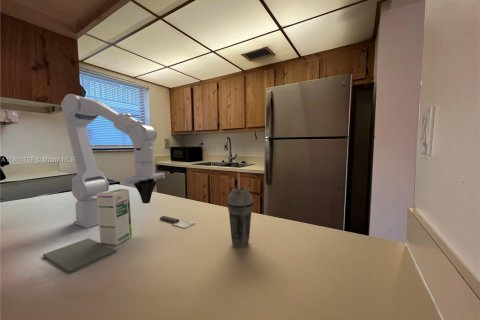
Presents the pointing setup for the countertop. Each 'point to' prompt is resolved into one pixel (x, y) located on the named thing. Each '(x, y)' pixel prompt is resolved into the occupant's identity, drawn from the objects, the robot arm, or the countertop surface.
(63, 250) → the mat
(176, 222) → the spatula
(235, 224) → the beverage cup
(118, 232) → the syrup box
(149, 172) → the robot arm
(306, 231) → the countertop surface
